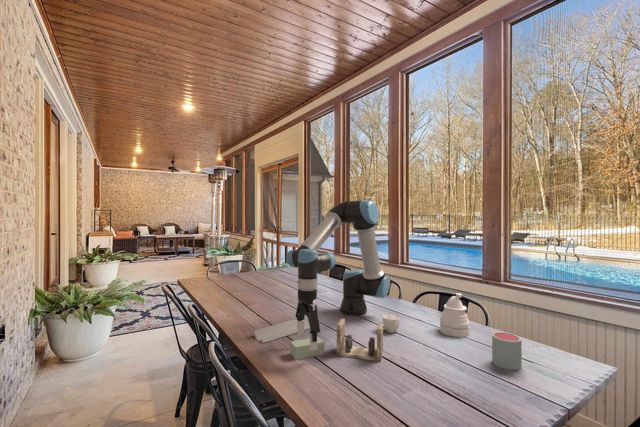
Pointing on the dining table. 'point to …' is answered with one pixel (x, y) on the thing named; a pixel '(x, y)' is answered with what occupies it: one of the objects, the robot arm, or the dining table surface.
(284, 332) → the crown molding
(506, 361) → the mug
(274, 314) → the dining table surface
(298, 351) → the pale green block
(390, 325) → the cup
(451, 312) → the honey pot
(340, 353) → the frame
